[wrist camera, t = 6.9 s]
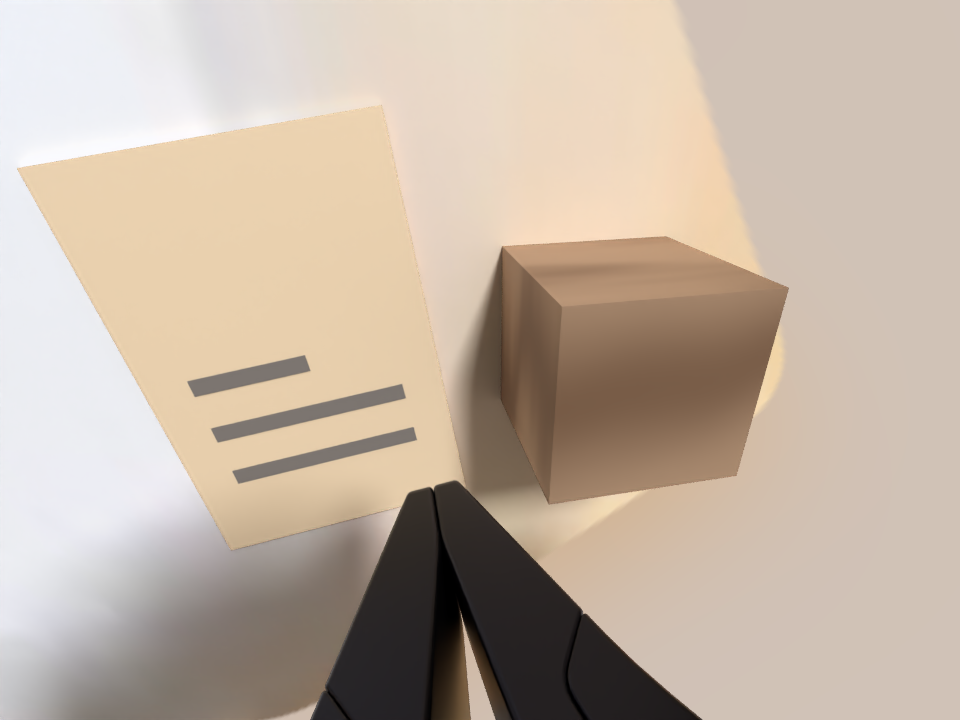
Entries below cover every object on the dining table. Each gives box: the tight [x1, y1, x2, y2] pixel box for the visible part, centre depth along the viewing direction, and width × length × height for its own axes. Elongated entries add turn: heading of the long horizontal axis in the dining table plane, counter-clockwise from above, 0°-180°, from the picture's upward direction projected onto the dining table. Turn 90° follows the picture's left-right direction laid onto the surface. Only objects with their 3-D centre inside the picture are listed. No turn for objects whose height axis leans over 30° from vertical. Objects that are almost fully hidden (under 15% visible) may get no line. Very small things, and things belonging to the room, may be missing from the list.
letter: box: [17, 105, 466, 550], centre depth 14 cm, size 12×8×1 cm, turn 9°
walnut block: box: [501, 237, 789, 504], centre depth 13 cm, size 5×5×5 cm
